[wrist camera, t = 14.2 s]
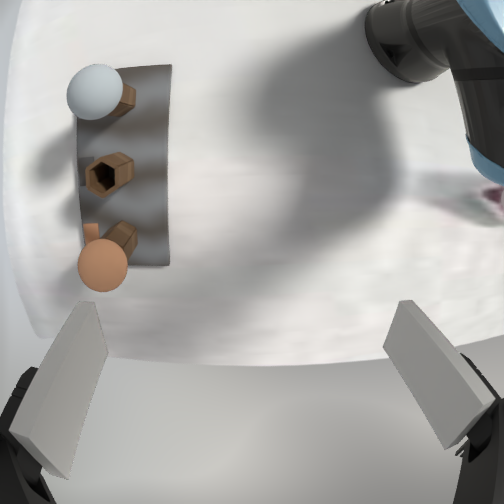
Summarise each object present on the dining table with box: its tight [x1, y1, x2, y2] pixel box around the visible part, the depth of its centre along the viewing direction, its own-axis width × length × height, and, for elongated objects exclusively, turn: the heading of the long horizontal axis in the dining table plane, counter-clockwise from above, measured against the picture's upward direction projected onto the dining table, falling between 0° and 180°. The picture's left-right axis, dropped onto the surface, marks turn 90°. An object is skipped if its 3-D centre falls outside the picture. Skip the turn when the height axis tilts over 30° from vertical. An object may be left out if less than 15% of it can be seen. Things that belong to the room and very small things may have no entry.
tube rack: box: [77, 64, 172, 266], centre depth 33 cm, size 28×13×8 cm, turn 177°
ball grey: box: [67, 64, 123, 120], centre depth 23 cm, size 6×6×6 cm
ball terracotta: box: [78, 239, 128, 292], centre depth 30 cm, size 6×6×6 cm
